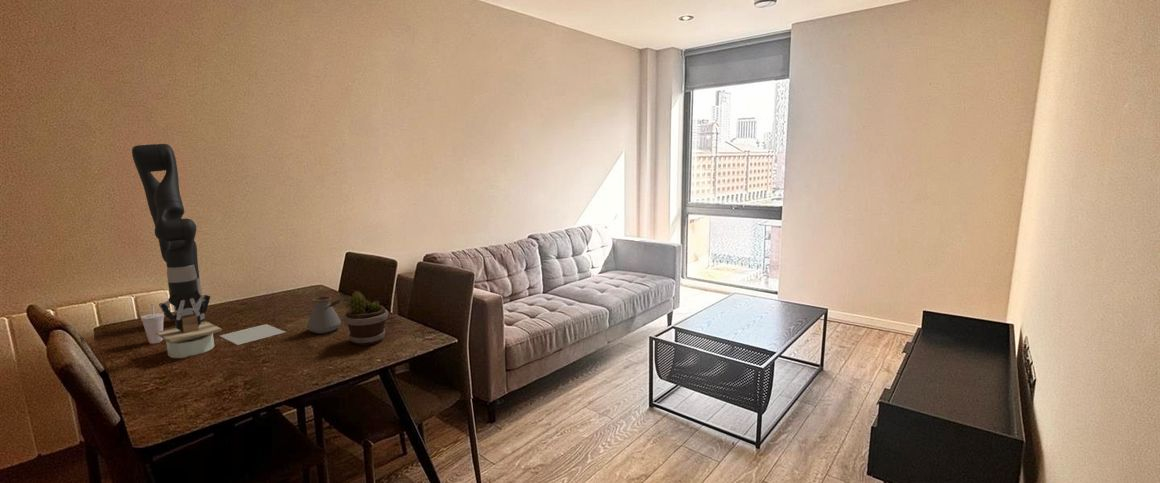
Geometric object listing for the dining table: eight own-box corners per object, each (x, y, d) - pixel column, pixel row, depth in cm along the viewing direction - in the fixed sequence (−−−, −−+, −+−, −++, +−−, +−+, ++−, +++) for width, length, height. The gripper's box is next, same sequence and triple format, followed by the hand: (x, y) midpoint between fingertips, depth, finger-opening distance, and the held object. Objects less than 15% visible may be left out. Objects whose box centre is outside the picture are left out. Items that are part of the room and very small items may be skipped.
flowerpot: (371, 331, 187) (368, 280, 184) (398, 338, 179) (395, 285, 176) (336, 343, 174) (331, 288, 171) (363, 351, 167) (359, 294, 164)
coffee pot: (302, 331, 186) (299, 293, 184) (333, 324, 195) (330, 287, 192) (326, 345, 172) (322, 304, 170) (358, 336, 181) (355, 297, 179)
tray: (219, 336, 180) (219, 335, 180) (266, 325, 193) (266, 324, 193) (238, 345, 171) (237, 344, 171) (286, 333, 184) (286, 332, 184)
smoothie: (154, 345, 171) (148, 307, 169) (139, 344, 173) (133, 306, 170) (172, 339, 178) (167, 302, 175) (158, 337, 179) (152, 300, 177)
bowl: (163, 352, 165) (161, 338, 164) (205, 342, 175) (204, 328, 174) (176, 360, 158) (174, 346, 158) (219, 349, 168) (217, 335, 167)
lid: (156, 334, 164) (154, 317, 163) (206, 323, 175) (204, 307, 174) (171, 343, 156) (168, 325, 155) (222, 331, 167) (220, 314, 166)
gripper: (203, 273, 171) (209, 320, 173) (151, 281, 159) (158, 332, 162) (212, 276, 166) (217, 324, 169) (159, 284, 155) (166, 336, 158)
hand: (188, 328), depth 165 cm, fingers closed on lid, 4 cm apart
